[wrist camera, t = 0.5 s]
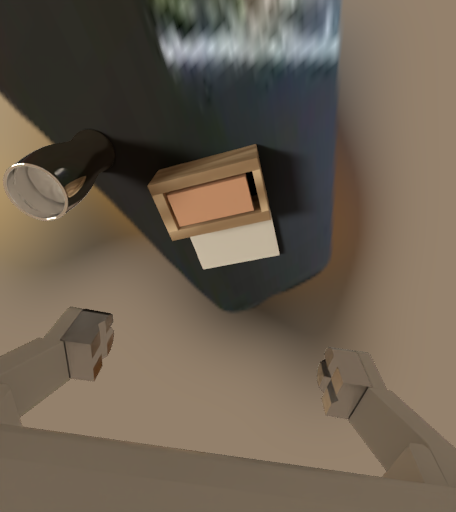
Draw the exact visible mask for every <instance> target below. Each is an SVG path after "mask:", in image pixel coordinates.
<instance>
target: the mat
mask: <svg viewBox="0 0 456 512" xmlns="http://www.w3.org/2000/svg"><path fill="white" fill-rule="evenodd" d="M269 209H270V207H269ZM270 217H271V220H267V221H263V222H258V223H253V224H249V225H244V226H239V227H234V228H230V229H225V230H220V231H216V232H211V233H206V234H202V235H197V236H192V237H190V238H191V241H192V243H193V246H194V248H195V250H196V253H197V255H198V258H199V260H200V263H201V265H202V268H203V269H208V268H213V267H219V266H224V265H229V264H235V263H240V262H245V261H250V260H256V259H261V258H266V257H272V256H277V255H280V254H279V248H278V244H277V239H276V234H275V230H274V225H273V220H272V216H271V211H270Z"/></svg>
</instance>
